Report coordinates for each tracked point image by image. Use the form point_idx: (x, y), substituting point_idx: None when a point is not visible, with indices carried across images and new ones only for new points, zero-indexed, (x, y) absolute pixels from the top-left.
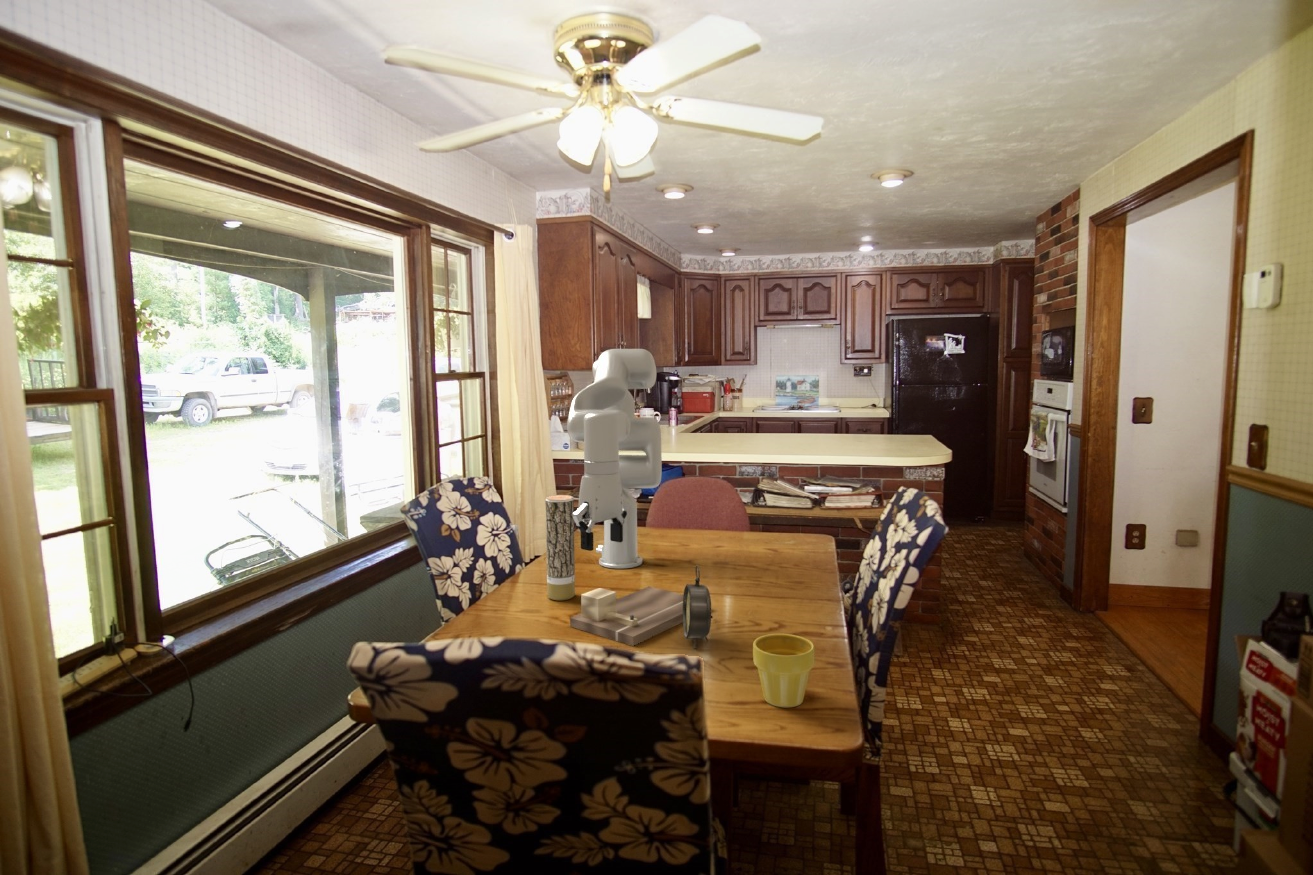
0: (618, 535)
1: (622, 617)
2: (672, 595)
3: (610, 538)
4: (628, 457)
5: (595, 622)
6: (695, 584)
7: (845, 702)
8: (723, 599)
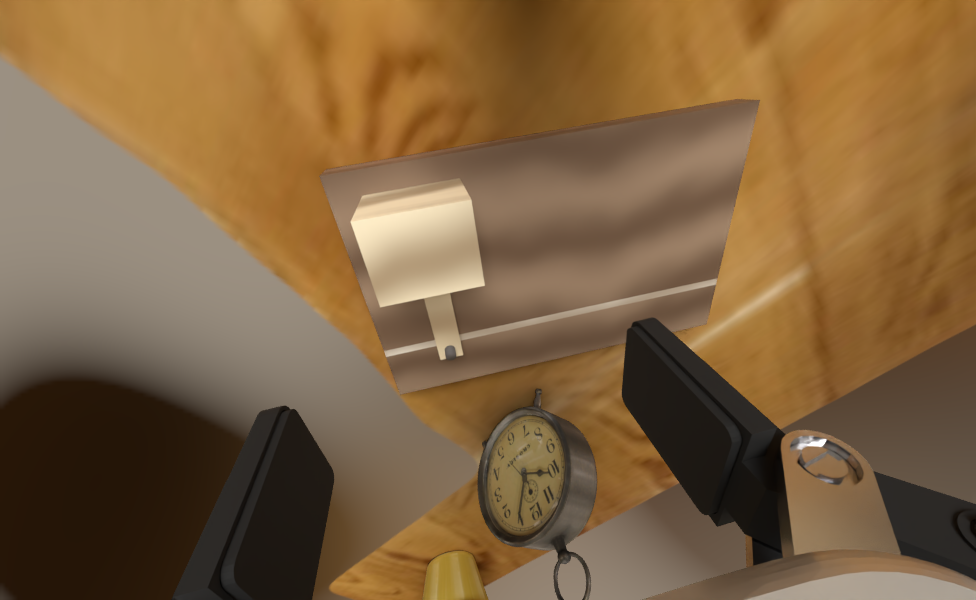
0: (649, 425)
1: (438, 326)
2: (703, 234)
3: (634, 335)
4: None
5: None
6: (553, 544)
7: (495, 579)
8: (769, 285)
